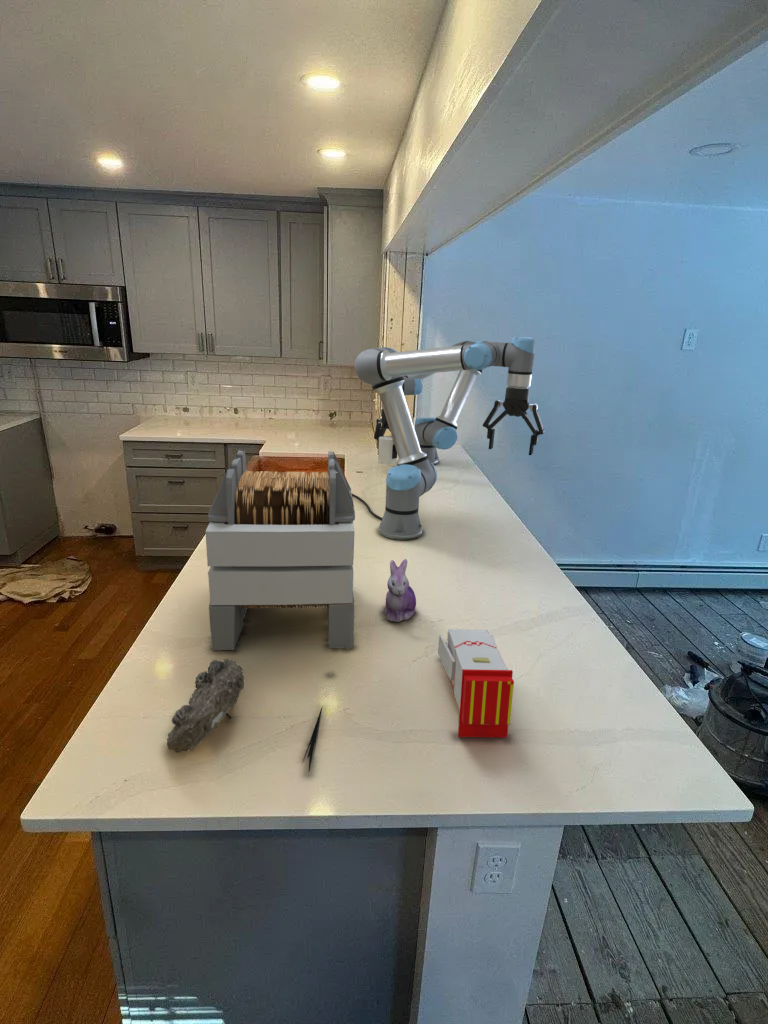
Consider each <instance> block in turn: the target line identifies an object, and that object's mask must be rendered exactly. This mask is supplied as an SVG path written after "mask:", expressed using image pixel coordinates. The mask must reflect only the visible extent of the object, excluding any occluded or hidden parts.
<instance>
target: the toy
mask: <svg viewBox="0 0 768 1024" xmlns="http://www.w3.org/2000/svg"><path fill="white" fill-rule="evenodd" d="M446 640H447V643H446V641H445V639H444V636H443V635H442V634H439V637H438V646H437V656H438V657H439V659H440V661H441V663H442V666H443V668H444V670H445V672H446V674H447V677H448V679H449V681H450V684H451V687H452V690H453V693H454V697H455V701H456V705H457V708H458V711H459V714H458V715H459V716H458V730H457V731H458V732H457V737H458V738H508V731H509V726H510V725H511V717H512V707H513V697H514V696H513V695H514V684H515V680H514V679H513V673H514V671H513V670H512V669H508V667H507V665H506V662H505V661H504V659H503V658H502V655H501V653H500V651H499V649H498V647H497V643H496V639H495V637H494V635H493V634H491V632H490V631H489V629H467V628H466V629H465V628H463V629H461V628H460V629H459V628H448V630H447V639H446Z"/></svg>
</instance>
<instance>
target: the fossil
mask: <svg viewBox="0 0 768 1024" xmlns="http://www.w3.org/2000/svg"><path fill="white" fill-rule="evenodd" d="M243 670H244V669H243V667H242V665H240V664H237V662H236V661H235V660H234V659H232V658H231V659H227V658H226V659H224V660H223V661H222V660H217V659H212V660H211V661H210V663H209V665H208V666H207V671H201V672H199V673H198V674H197V675H196V676H195V680H194V684H195V685H194V687H195V689H194V690H193V693H192V694H191V697H190V698H189V700H188V704H184V705H182V706H181V707H180V709H177V710H176V711H175V713H174V715H173V716H172V718H171V723H172V724H173V727H172V730H171V731H170V732H168V734H167V738H166V741H167V742H166V745H167V749H168V750H169V751H173V752H174V753H176V754H178V753H182V752H188V751H189V752H192V751H193V750H195V748H196V747H197V746H199V744H200V743H201V742H203V741H204V740H205V739H206V738H207V737H208V736H209V735H210V734H211V733H212V732H214V730H215V729H217V727H218V726H219V724H220V722H221V721H222V720H223V719H224V718H225V716H226V717H227V719H229V720H233V717H232V715H230V714H229V710H230V709H231V708H234V706H235V704H236V703H237V702H238V699H239V697H240V695H241V693H242V691H243V690H245V689H244V688H245V675H244V671H243Z"/></svg>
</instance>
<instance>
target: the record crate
mask: <svg viewBox="0 0 768 1024" xmlns="http://www.w3.org/2000/svg"><path fill="white" fill-rule="evenodd" d="M327 456H328V457H327V462H328V463H327V471H322V472H321V473H320V472H319V471H311V472H307V471H284V472H283V471H281V472H278V471H271V470H269V471H267V470H265V471H262V470H261V471H259V470H258V471H257V470H256V471H253V470H247V458H246V450H240V449H238V450H237V452H236V454H235V456H234V457H233V459H232V462H231V464H230V466H229V468H227V470H226V472H225V474H224V477H223V479H222V480H221V483H220V486H219V487H218V490H217V491H216V495H215V496H214V499H213V501H212V503H211V504H210V505H211V506H210V508H209V510H208V513H207V517H208V522H209V523H208V525H207V527H206V529H205V533H204V534H205V548H206V558H207V559H206V563H207V567H209V569H208V571H207V574H208V575H207V577H208V589H209V604H208V615H209V630H210V634H211V647H210V649H211V651H212V652H214V651H215V652H218V651H234V649H235V647H236V645H237V643H238V641H239V638H240V635H241V633H242V630H243V619H245V618H246V614H247V609H249V610H250V609H273V608H274V609H276V608H277V609H280V608H281V609H293V608H294V609H296V608H298V609H302V608H309V609H310V608H315V609H316V608H327V637H328V638H327V639H328V640H327V641H328V649H349V650H350V649H352V648H353V647H354V646H355V645H354V643H355V607H356V606H355V597H354V559H355V558H354V555H355V526H354V525H355V524H354V522H355V520H356V511H355V505H354V499H353V496H352V494H353V493H352V487H351V486H350V484H349V481H348V479H347V477H346V475H345V473H344V471H343V469H342V467H341V464H340V462H339V459H338V458H337V455H336V453H335V452H334V451H330V450H329V451H327Z"/></svg>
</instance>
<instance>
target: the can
mask: <svg viewBox="0 0 768 1024" xmlns="http://www.w3.org/2000/svg"><path fill="white" fill-rule="evenodd" d="M393 445H394V442H393V438H392V435H384V436H381V437H379V450H378V449H377V463H378V464H380V465H383V466H384V465H385V466H391V465H396V463H397V458H395V459H392V451H393Z"/></svg>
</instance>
